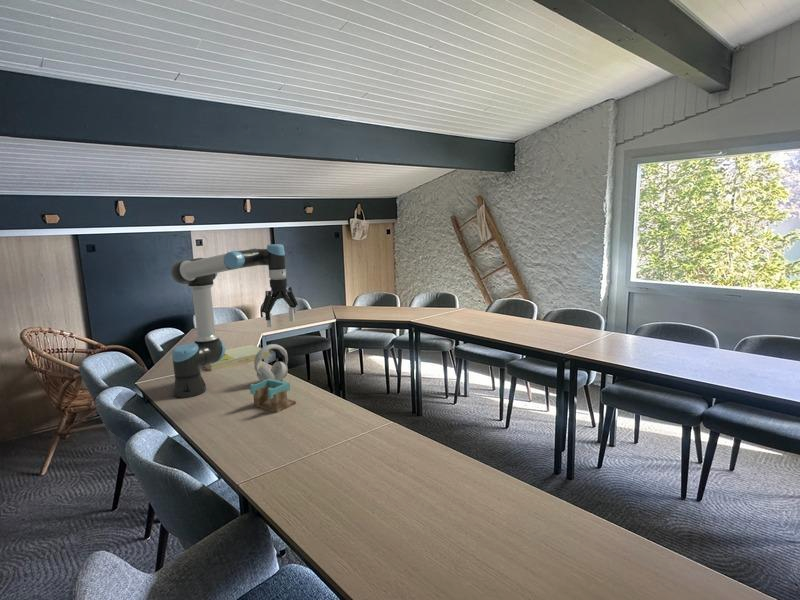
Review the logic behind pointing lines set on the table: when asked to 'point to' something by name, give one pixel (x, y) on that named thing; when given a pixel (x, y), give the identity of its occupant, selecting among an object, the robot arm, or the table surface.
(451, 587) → the table surface
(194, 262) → the robot arm
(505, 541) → the table surface
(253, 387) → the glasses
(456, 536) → the table surface
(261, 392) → the stand
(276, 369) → the headphones
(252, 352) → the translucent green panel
